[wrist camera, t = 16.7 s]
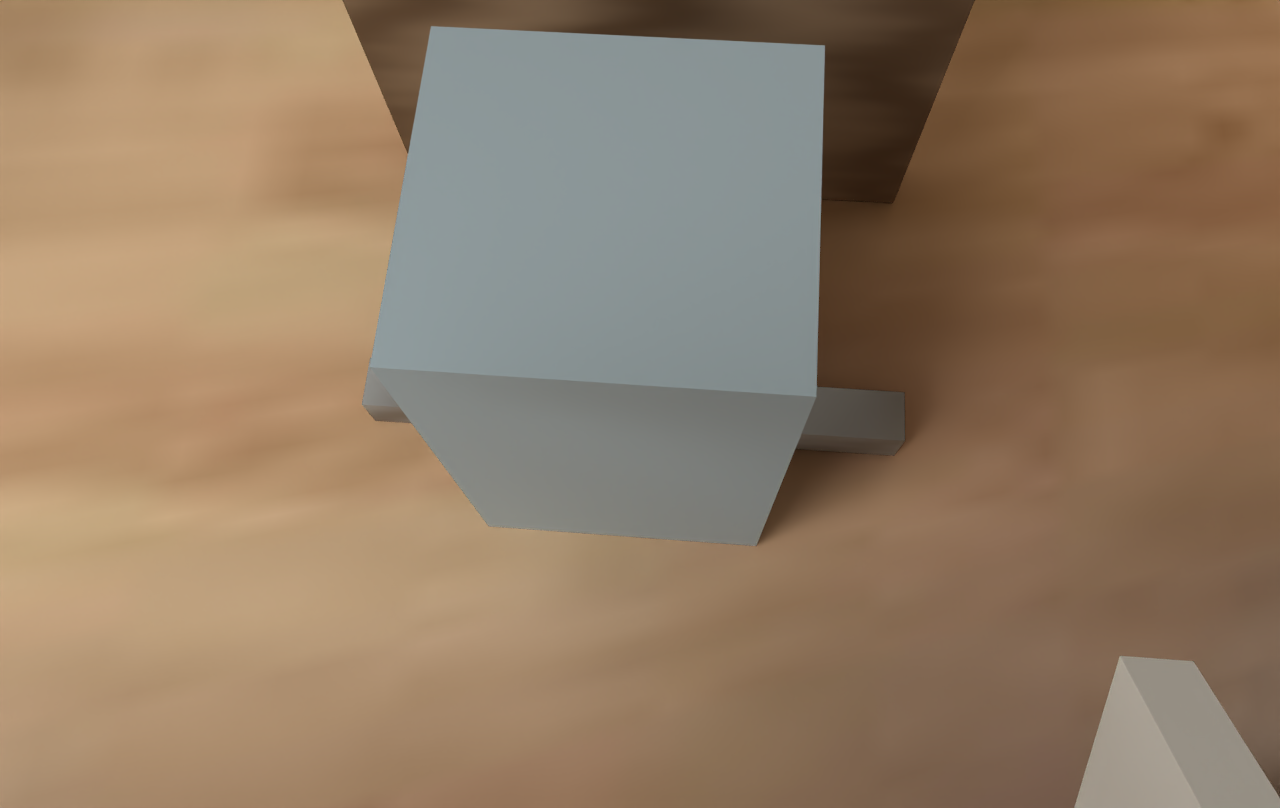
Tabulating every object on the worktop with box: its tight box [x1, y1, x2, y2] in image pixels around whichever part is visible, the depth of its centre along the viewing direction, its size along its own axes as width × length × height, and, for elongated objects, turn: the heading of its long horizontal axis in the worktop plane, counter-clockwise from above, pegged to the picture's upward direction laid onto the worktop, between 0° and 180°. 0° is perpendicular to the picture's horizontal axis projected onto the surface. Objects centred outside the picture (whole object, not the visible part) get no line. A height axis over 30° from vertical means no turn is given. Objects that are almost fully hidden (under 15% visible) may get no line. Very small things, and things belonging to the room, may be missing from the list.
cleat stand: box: [343, 0, 974, 456], centre depth 26 cm, size 16×10×16 cm, turn 85°
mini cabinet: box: [370, 26, 825, 546], centre depth 26 cm, size 8×8×13 cm
